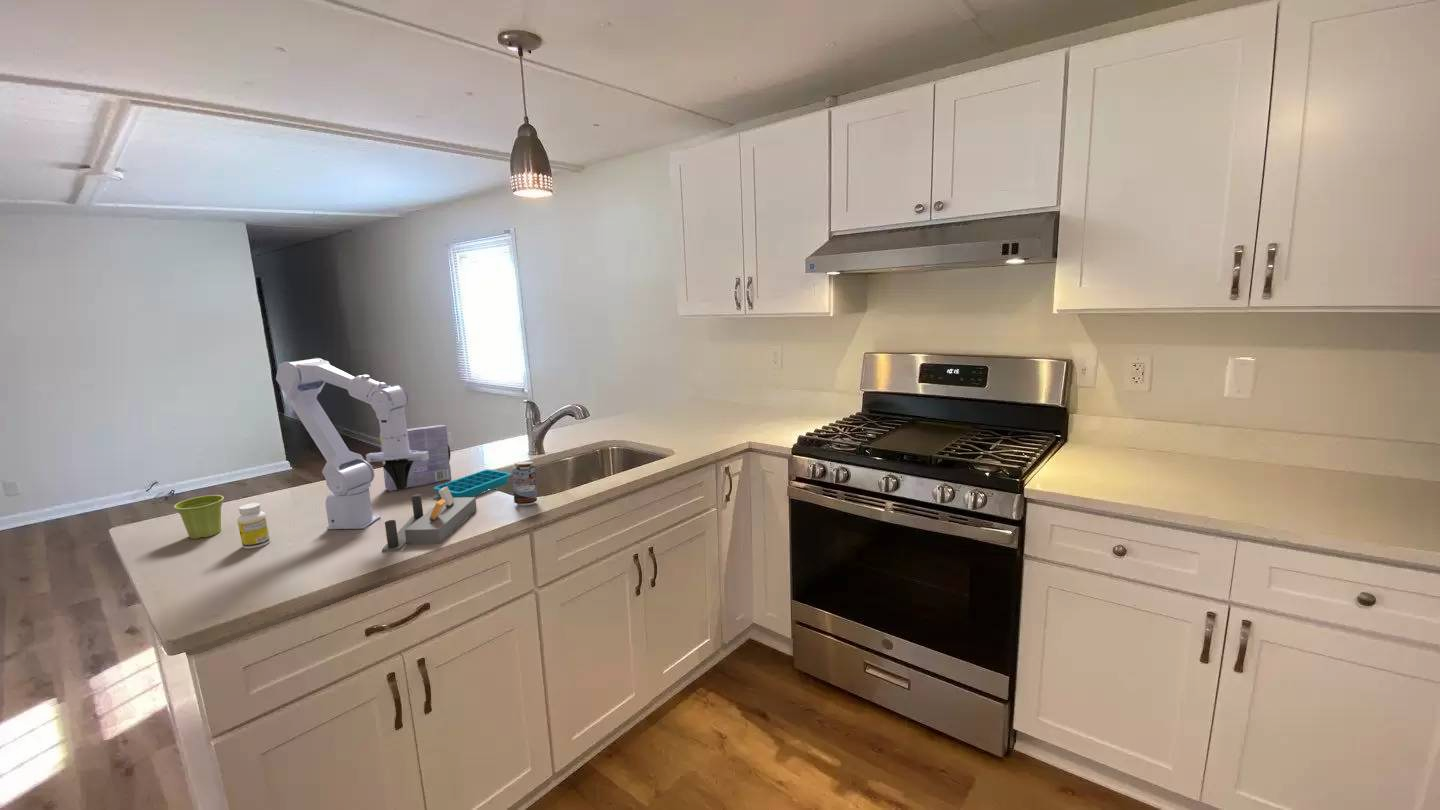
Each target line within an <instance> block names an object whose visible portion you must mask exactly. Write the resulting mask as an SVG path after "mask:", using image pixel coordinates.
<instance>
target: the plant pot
mask: <svg viewBox="0 0 1440 810" xmlns="http://www.w3.org/2000/svg"><path fill="white" fill-rule="evenodd" d="M224 499H225V497H224V496H223V495H222V494H221V495H220V494H209V495H208V494H207V495H201V496H197V497H192V498H188V499H185V500H182V501H179V502H177V503H176V504H174V505H173V508H174V509H175V510H177V513H178V514H179V515H180V517H181V520H182V523H183V525H184V528H185V530H186V533H187V535H188V537H189V539H193V540H194V539H195V540H196V539H199V538H210V537H212V536H215V535H218V534H219V533H220V532H221V530H222V505H223V501H224Z"/></svg>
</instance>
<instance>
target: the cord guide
mask: <svg viewBox="0 0 1440 810" xmlns="http://www.w3.org/2000/svg"><path fill="white" fill-rule="evenodd" d="M411 504H412V513H413V515H412V516H411V517H409V520H407V522H405V524H404V525H403V526H402V527H401V528H400V529H399V530H398V529H397V522H396V520H395V519H389V520H387V521H385V522H384V527H385V528H384V529H385V534H386V542H387V543H386V544H385V545H384V547H383V548H381V552H382V553H386V552H387V551H389V552H398V551H399V550H401V549H402V550H403V549H404V547H405V546H406V545H407V544H406V536H405V529H407V528H408V527H409V526H410V525H412V524H413V523H414V522H416V521H417V520H418V519H419V518H421V517H422V516H423V515H424V509H423V501H422V495H421V494H420V493H419V494H417V493H416V494H413V495H411ZM402 550H401V551H402Z"/></svg>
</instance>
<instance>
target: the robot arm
mask: <svg viewBox="0 0 1440 810" xmlns="http://www.w3.org/2000/svg"><path fill="white" fill-rule="evenodd" d="M275 380H276V382H277V384H278V385H279V386H280V388H281V390H282V391H283V393H284V394H285V397H287V400H288V402H289V404H290V406H291V408H293V410H294V412H295V414H296V415H297V417H298V418H299V420H300V421H301V423H302V424H303V426H304V428H305V430H306V431H307V432H308V433H309V436H310V437H311V439H312V440H313V442H314V444H315V445H316V446H317V448H318V449H319V451H320V452H321V454H322V456H323V457H324V459H325V461H326V463H325V465H324V467H323V468H322V470H321V471H322V472H321V473H322V475H323V477H324V478H325V484H326V486H327V489H328V490H329V491H330V492H329V493H328V495H327V497H326V499H325V510H326V511H325V512H326V517H327V524H328V526H327V527H326V529H327V530H351V529H352V530H353V529H354V530H355V529H358V530H359V529H365V528H367V527H368V526H370V525H371V524H372V523H374V522H376V521H377V520H378V519H381V515H379V514H377V515H374V514H373V508H372V499H371V493H370V488H371V487H372V485H371V483H372V482H373V481H374V479H375V469H374V467H373V466H372V464H371V463H372V462H382V461H386V463H385V464H384V465H383V464H382V468H383V467H384V469H385V470H386V471H387V472H388V473H389V475H390V476H391V478H392V479H393V481H394V483H395V486H396V488H397V490H396V491H403V490H405V489H407V488H406V487H407V479H408V474H409V471H410V468H411V466H412V463H413V460H421V461H426V460H428V459H429V454H428V451H413V450H410V448H409V440H408V433H407V429H408V426H407V419H406V412H405V408H406V406H408V403H409V400H410V397H409V393H408V392H407V391H406V389H404V387H402V386H401V385H400V384H399V385H398V384H394V385H387V383H386V382H380V381H377V380H374V379H372V378H371V376H370V375H369V374H362V375H359V374H358V375H356V376H354V375H351V374H349V373H348V372H345V371H344V370H342V369H339V368H337V367H335V366H334V365H331V363H330V361H328V360H325V359H322V358H320V357H313V358H310V359H303V360H296V361H283V362H281V363H280V364H279V366H278V367H277V371H276V377H275ZM326 383H327V384H330V385H333V386H336V387H339V388H342V389H345V390H347V392H348V394H349V396H350V397H352V398H354V399H356V400H359V401H361V402H364V403H367V404H369V405H370V406H371V408H372V409H373V411H374V412H375V415H376V418H377V420H378V421H379V428H380V429H379V430H380V433H381V438H382V445H383V452H381V451H379V452H370V453H367V454H365V459H364V456H362V454H360V453H356V452H353V451H351V450H350V449H349V448H348V446H347V445H346V443H345V442H344V440H343V438H342V437H341V435H340V433H339V431H338V430H337V429H336V427H335V426H334V424H333V423H332V421H331V420H330V418H329V416H328V414H327V413H326V412H325V410H324V408H323V407H322V405H321V404H320V402H319V401H318V398H317V397H318V395H319V394H320V393H321V391H322V390H323V388H324V386H325V385H326Z"/></svg>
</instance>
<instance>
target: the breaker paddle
mask: <svg viewBox="0 0 1440 810" xmlns="http://www.w3.org/2000/svg"><path fill="white" fill-rule="evenodd" d="M445 502H446V501H445V500H443V499H442V498H441V499H439V500H438V501H436V503H435V505H434V506H433V507H434V509H433V511H432V513H431V516H430V519H429V520H430V521H433V520H435V519H436V518H437V517H439V515H440V513H441V511H442V509H443V506H444V504H445Z"/></svg>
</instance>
